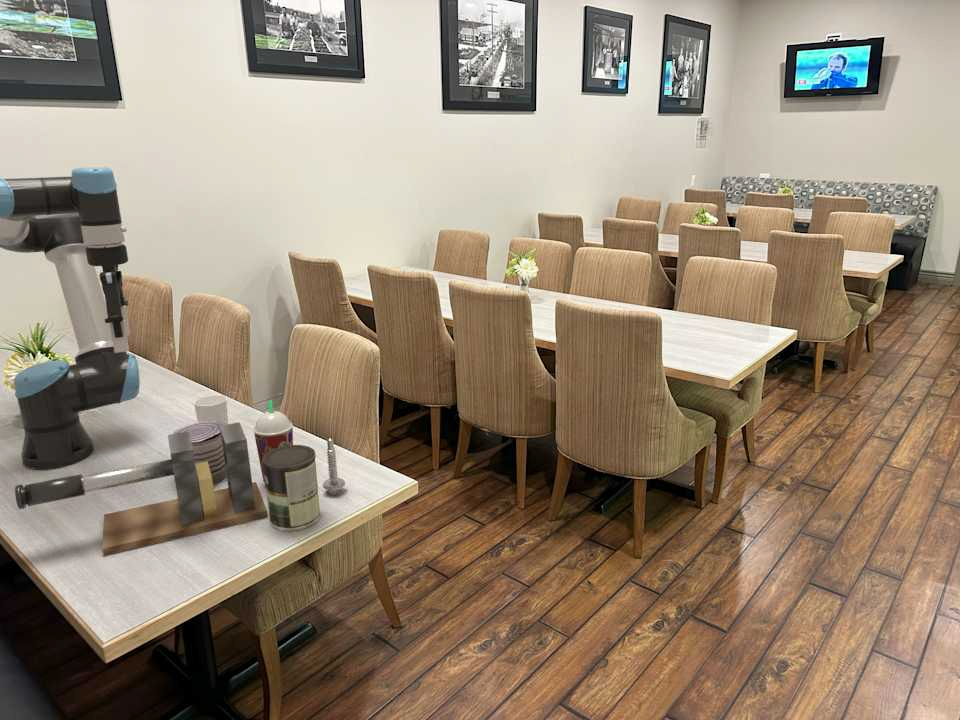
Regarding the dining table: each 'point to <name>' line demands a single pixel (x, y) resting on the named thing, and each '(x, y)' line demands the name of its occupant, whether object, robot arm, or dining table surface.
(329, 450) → the screw
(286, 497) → the coffee can
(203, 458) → the can
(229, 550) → the dining table surface
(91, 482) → the shaft
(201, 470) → the collar
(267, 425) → the smoothie
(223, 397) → the white cup
